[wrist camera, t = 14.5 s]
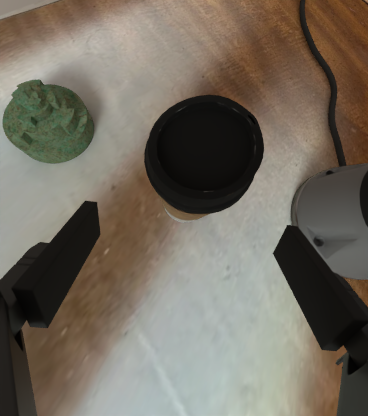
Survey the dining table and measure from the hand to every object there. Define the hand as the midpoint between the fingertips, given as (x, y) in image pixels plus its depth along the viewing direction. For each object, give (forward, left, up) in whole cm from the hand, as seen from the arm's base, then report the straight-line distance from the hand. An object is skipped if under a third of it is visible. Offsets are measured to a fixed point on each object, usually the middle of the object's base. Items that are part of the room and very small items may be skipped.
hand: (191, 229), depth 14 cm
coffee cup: (-5, -1, -13) cm, 14 cm away
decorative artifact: (-9, -21, -13) cm, 26 cm away
